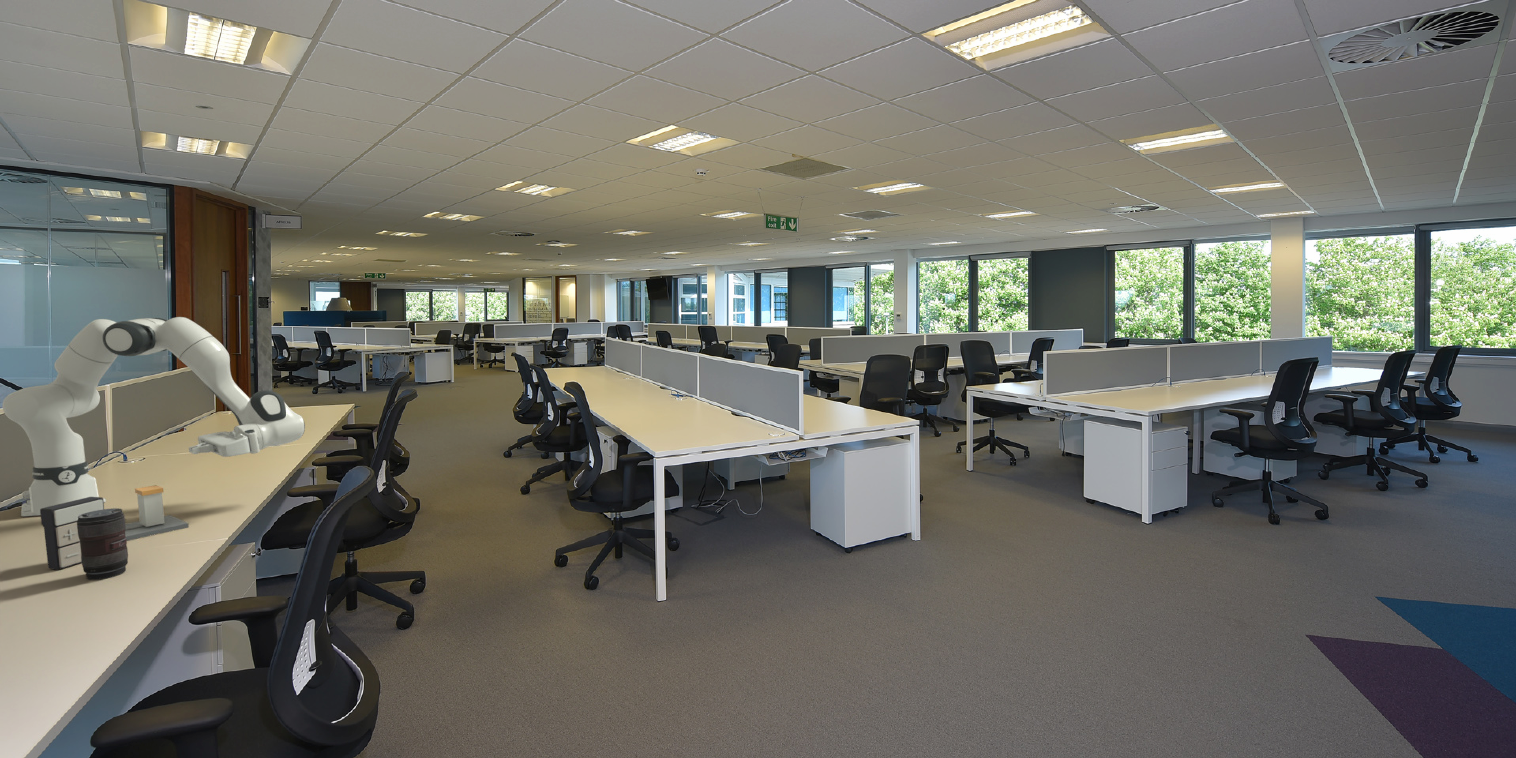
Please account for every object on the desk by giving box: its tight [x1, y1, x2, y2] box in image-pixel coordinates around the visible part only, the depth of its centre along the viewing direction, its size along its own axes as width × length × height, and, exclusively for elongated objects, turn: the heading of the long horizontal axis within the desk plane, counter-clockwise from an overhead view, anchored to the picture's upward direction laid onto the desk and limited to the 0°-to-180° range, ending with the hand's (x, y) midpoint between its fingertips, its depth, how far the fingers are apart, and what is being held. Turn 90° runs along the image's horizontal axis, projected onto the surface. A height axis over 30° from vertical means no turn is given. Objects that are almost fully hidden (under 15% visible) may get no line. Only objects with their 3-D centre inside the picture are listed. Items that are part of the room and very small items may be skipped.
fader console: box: [125, 514, 190, 541], centre depth 189 cm, size 14×24×1 cm, turn 148°
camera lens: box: [77, 507, 129, 581], centre depth 161 cm, size 8×8×15 cm
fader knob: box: [134, 484, 165, 527], centre depth 193 cm, size 6×5×10 cm
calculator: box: [40, 496, 105, 571], centre depth 168 cm, size 11×4×15 cm, turn 168°
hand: (190, 450), depth 200 cm, fingers closed
